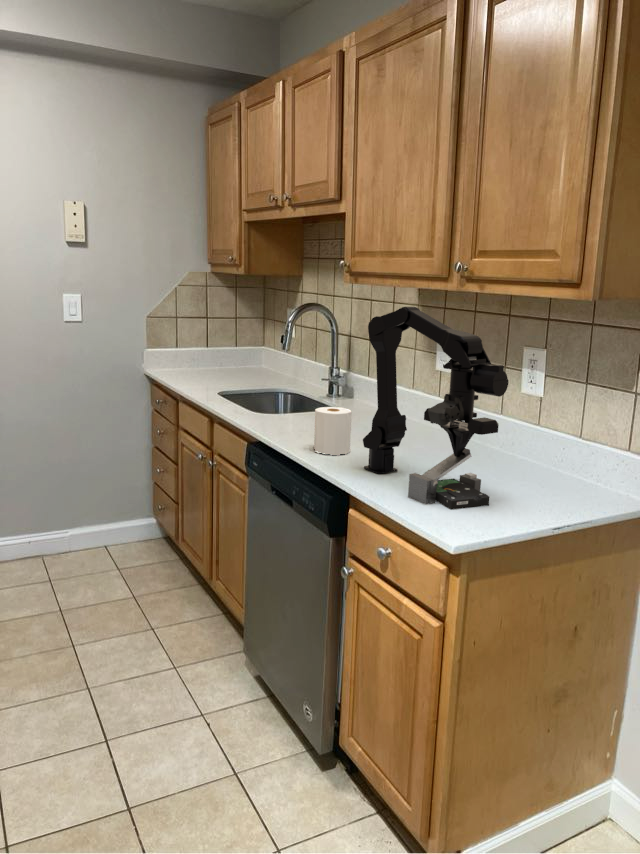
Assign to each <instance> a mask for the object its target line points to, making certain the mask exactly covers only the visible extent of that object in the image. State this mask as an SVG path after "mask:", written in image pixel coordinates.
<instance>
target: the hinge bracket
mask: <svg viewBox="0 0 640 854" xmlns="http://www.w3.org/2000/svg"><path fill="white" fill-rule="evenodd" d="M437 485H438V482H437V480H433V479H430V478H428V477H425V476H422V474H420V473H416V472H414V473H409V476H408V492H407V497H408V498H410V499H412V500H414V501H417V502H419V503H422V504H424V505H433V504H436V502H437V501H436V489H437Z"/></svg>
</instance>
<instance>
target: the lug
mask: <svg viewBox="0 0 640 854" xmlns="http://www.w3.org/2000/svg"><path fill="white" fill-rule="evenodd" d="M477 476H478V475H477V474H476V473H473V472H466V473H464V474H460V475H459V481H460V482H462V483H464V484H466V485H468V486H470V487H472V488H474V489H476V490H478V491H480V492H481V486H482V485H481V484H482V479H481V478H477Z"/></svg>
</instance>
